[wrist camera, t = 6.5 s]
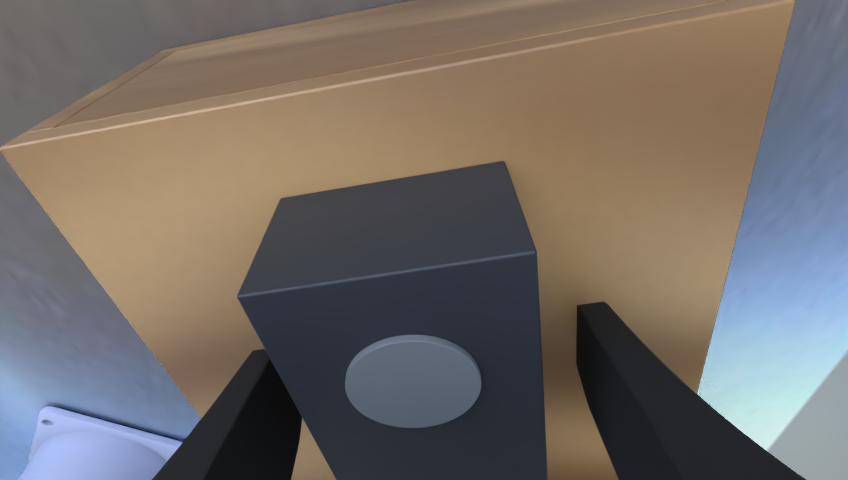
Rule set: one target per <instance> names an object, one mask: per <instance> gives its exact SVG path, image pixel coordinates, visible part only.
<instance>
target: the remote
mask: <svg viewBox="0 0 848 480" xmlns="http://www.w3.org/2000/svg"><path fill="white" fill-rule="evenodd" d="M237 299H238V301H239V302H240V304H241V306H242V308H243V310H244V312H245V313H246V315H247V317H248V319H249V321H250V323H251V324H252V326H253V328H254V330H255V332H256V334H257V335H258V337H259V339H260V341H261V343H262V345H263V346H264V348H265V350H266V352H267V354H268V356H269V357H270V359H271V361H272V363H273V365H274V367H275V368H276V370H277V372H278V374H279V376H280V378H281V379H282V381H283V383H284V385H285V387H286V389H287V390H288V392H289V394H290V396H291V398H292V400H293V401H294V403H295V405H296V407H297V409H298V411H299V412H300V414H301V416H302V418H303V420H304V422H305V423H306V425H307V427H308V429H309V431H310V433H311V434H312V436H313V438H314V440H315V442H316V444H317V445H318V447H319V449H320V451H321V453H322V455H323V456H324V458H325V460H326V462H327V464H328V466H329V467H330V469H331V471H332V473H333V475H334V477H335V478H336V480H548V468H547V447H546V426H545V405H544V385H543V364H542V343H541V322H540V301H539V280H538V259H537V250H536V247H535V245H534V242H533V239H532V236H531V233H530V231H529V228H528V225H527V222H526V219H525V216H524V214H523V211H522V208H521V205H520V202H519V200H518V197H517V194H516V191H515V188H514V186H513V183H512V180H511V177H510V174H509V172H508V169H507V166H506V163H505V162H504V161H500V162H494V163H488V164H482V165H476V166H470V167H464V168H458V169H452V170H446V171H440V172H435V173H429V174H423V175H417V176H411V177H405V178H399V179H393V180H387V181H381V182H375V183H369V184H363V185H357V186H351V187H345V188H339V189H333V190H327V191H321V192H315V193H309V194H303V195H297V196H291V197H285V198H281V199H280V200H279V203H278V205H277V207H276V209H275V212H274V214H273V216H272V218H271V220H270V223H269V225H268V227H267V229H266V232H265V234H264V236H263V238H262V241H261V243H260V245H259V247H258V250H257V252H256V254H255V256H254V259H253V261H252V263H251V265H250V267H249V270H248V272H247V274H246V276H245V279H244V281H243V283H242V285H241V288H240V290H239V292H238V294H237Z"/></svg>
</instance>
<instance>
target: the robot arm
mask: <svg viewBox="0 0 848 480" xmlns="http://www.w3.org/2000/svg"><path fill="white" fill-rule="evenodd" d="M576 365H577V369H578V372H579V376H580V379H581V383H582V386H583V390H584V393H585V397H586V400H587V403H588V406H589V409H590V411H591V414H592V416H593V419H594V421H595V424H596V426H597V428H598V431H599V433H600V436H601V438H602V441H603V443H604V446H605V448H606V450H607V453H608V455H609V458H610V460H611V462H612V465H613V467H614V470H615V472H616V475H617V477H618V479H619V480H806V479H804V478H803V477H802V476H800V475H798V474H797V473H796V472H794V471H793V470H791V469H790V468H789V467H787V466H786V465H785V464H783V463H782V462H781V461H779V460H778V459H777V458H775V457H774V456H773V455H771V454H770V453H768V452H767V451H766V450H764V449H763V448H762V447H760V446H759V445H758V444H757V443H755V442H754V441H753V440H751V439H750V438H749V437H748V436H746V435H745V434H744V433H742V432H741V431H740V430H739V429H737V428H736V427H735V426H734V425H732V424H731V423H730V422H729V421H728V420H726V419H725V418H724V417H723V416H722V415H720V414H719V413H718V412H717V411H716V410H714V409H713V408H712V407H711V406H710V405H709V404H708V403H706V402H705V401H704V400H703V399H702V398H701V397H700V396H698V395H697V394H696V393H695V392H694V391H693V390H692V389H691V388H689V387H688V386H687V385H686V384H685V383H684V382H683V381H682V380H681V379H680V378H679V377H678V376H677V375H676V374H674V373H673V372H672V371H671V370H670V369H669V368H668V367H667V366H666V365H665V364H664V363H663V362H662V361H661V360H660V359H659V358H658V357H657V356H656V355H655V354H654V353H653V352H652V351H651V350H650V349H649V348H648V347H647V346H646V345H645V344H644V343H643V342H642V341H641V340H640V339H639V338H638V337H637V336H636V335H635V334H634V332H633V331H632V330H631V329H630V328H629V327H628V326H627V325H626V324H625V323H624V322H623V320H622V319H621V318H620V317H619V316H618V315H617V314H616V313H615V311H614V310H613V309H612V308H611V307H610V306H609V305H608V304H607V303H606V302H604V301H603V302H596V303H588V304H581V305H577V332H576ZM301 424H302V416H301V414H300V412H299V411H298V409H297V407H296V405H295V403H294V401H293V400H292V398H291V396H290V394H289V392H288V390H287V389H286V387H285V385H284V383H283V381H282V379H281V378H280V376H279V374H278V372H277V370H276V368H275V367H274V365H273V363H272V361H271V359H270V357H269V356H268V354H267V352H266V350H265V349H260V350H253V351H252V352H251V354H250V355H249V356H248V358H247V359H246V360H245V361H244V363H243V364H242V366H241V367H240V368H239V370H238V371H237V372H236V374H235V375H234V376H233V378H232V379H231V380H230V382H229V383H228V384H227V386H226V387H225V388H224V390H223V391H222V392H221V394H220V395H219V396H218V398H217V399H216V400H215V402H214V403H213V404H212V406H211V407H210V408H209V410H208V411H207V412H206V414H205V415H204V416H203V417H202V419H201V420H200V421H199V423H198V424H197V425H196V427H195V428H194V429H193V431H192V432H191V433H190V434H189V436H188V437H187V438H186V439H185V440H184V442H181V441H178V440H174V439H170V438H167V437H163V436H159V435H156V434H152V433H148V432H145V431H141V430H137V429H134V428H130V427H126V426H123V425H119V424H116V423H112V422H108V421H105V420H101V419H97V418H94V417H90V416H86V415H83V414H79V413H75V412H72V411H68V410H64V409H61V408H57V407H53V406H47V407H44V408H43V409H42V410H41V412H40V413H39V415H38V419H37V424H36V428H35V433H34V437H33V441H32V446H31V450H30V455H29V459H28V463H27V466H26V468H25V469H24V471H23V472H22V474H21V475H20V477H19V478H18V479H17V480H291V478H292V473H293V469H294V464H295V460H296V455H297V451H298V446H299V441H300V433H301Z"/></svg>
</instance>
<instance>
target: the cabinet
mask: <svg viewBox="0 0 848 480" xmlns="http://www.w3.org/2000/svg"><path fill="white" fill-rule="evenodd" d="M794 6H795V0H410V1H405V2H400V3H395V4H390V5H385V6H380V7H375V8H370V9H365V10H360V11H355V12H350V13H345V14H340V15H335V16H330V17H325V18H320V19H315V20H310V21H305V22H300V23H295V24H290V25H285V26H280V27H275V28H270V29H265V30H260V31H255V32H250V33H245V34H239V35H234V36H229V37H224V38H219V39H214V40H209V41H204V42H199V43H194V44H189V45H184V46H179V47H174V48H169V49H164V50H163V51H161V52H159V53H158V54H156V55H154V56H152V57H150V58H149V59H147V60H145V61H144V62H142V63H140V64H139V65H137V66H135V67H134V68H132V69H130V70H129V71H127V72H125V73H123V74H122V75H120V76H118V77H117V78H115V79H113V80H112V81H110V82H108V83H107V84H105V85H103V86H102V87H100V88H98V89H96V90H95V91H93V92H91V93H90V94H88V95H86V96H85V97H83V98H81V99H80V100H78V101H76V102H75V103H73V104H71V105H69V106H68V107H66V108H64V109H63V110H61V111H59V112H58V113H56V114H54V115H53V116H51V117H49V118H47V119H46V120H44V121H42V122H41V123H39V124H37V125H36V126H34V127H32V128H31V129H29V130H27V131H26V132H24V133H23V134H21V135H19V136H17V137H16V138H14V139H12V140H11V141H9V142H7V143H6V144H4V145H2V146H1V147H0V152H1V153H2V155H3V156H4V157H5V159H6V160H7V161H8V163H9V164H10V165H11V167H12V168H13V169H14V171H15V172H16V173H17V175H18V176H19V177H20V178H21V180H22V181H23V182H24V184H25V185H26V186H27V188H28V189H29V190H30V192H31V193H32V194H33V196H34V197H35V198H36V200H37V201H38V202H39V204H40V205H41V206H42V208H43V209H44V210H45V212H46V213H47V214H48V216H49V217H50V218H51V220H52V221H53V222H54V224H55V225H56V226H57V228H58V229H59V230H60V232H61V233H62V234H63V236H64V237H65V238H66V239H67V241H68V242H69V243H70V245H71V246H72V247H73V249H74V250H75V251H76V253H77V254H78V255H79V257H80V258H81V259H82V261H83V262H84V263H85V265H86V266H87V267H88V269H89V270H90V271H91V273H92V274H93V275H94V277H95V278H96V279H97V281H98V282H99V283H100V285H101V286H102V287H103V289H104V290H105V291H106V293H107V294H108V295H109V297H110V298H111V299H112V300H113V302H114V303H115V304H116V306H117V307H118V308H119V310H120V311H121V312H122V314H123V315H124V316H125V318H126V319H127V320H128V322H129V323H130V324H131V326H132V327H133V328H134V330H135V331H136V332H137V334H138V335H139V336H140V338H141V339H142V340H143V342H144V343H145V344H146V346H147V347H148V348H149V350H150V351H151V352H152V354H153V355H154V356H155V358H156V359H157V360H158V361H159V363H160V364H161V365H162V367H163V368H164V369H165V371H166V372H167V373H168V375H169V376H170V377H171V379H172V380H173V381H174V383H175V384H176V385H177V387H178V388H179V389H180V391H181V392H182V393H183V395H184V396H185V397H186V399H187V400H188V401H189V403H190V404H191V405H192V407H193V408H194V409H195V411H196V412H197V413H198V415H199V416H200V417H201V419H202V417H203V416H204V415H205V414H206V412H207V411H208V410H209V408H210V407H211V406H212V404H213V403H214V402H215V400H216V399H217V398H218V396H219V395H220V394H221V392H222V391H223V390H224V388H225V387H226V386H227V384H228V383H229V382H230V380H231V379H232V378H233V376H234V375H235V374H236V372H237V371H238V370H239V368H240V367H241V366H242V364H243V363H244V361H245V360H246V359H247V358H248V356H249V355H250V354H251V352H252V351H253V350H260V349H265V348H264V346H263V345H262V343H261V341H260V339H259V337H258V335H257V334H256V332H255V330H254V328H253V326H252V324H251V323H250V321H249V319H248V317H247V315H246V313H245V312H244V310H243V308H242V306H241V304H240V302H239V301H238V299H237V294H238V292H239V290H240V288H241V285H242V283H243V281H244V279H245V276H246V274H247V272H248V270H249V267H250V265H251V263H252V261H253V259H254V256H255V254H256V252H257V250H258V247H259V245H260V243H261V241H262V238H263V236H264V234H265V232H266V229H267V227H268V225H269V223H270V220H271V218H272V216H273V214H274V212H275V209H276V207H277V205H278V203H279V200H280V199H281V198H285V197H291V196H297V195H303V194H309V193H315V192H321V191H327V190H333V189H339V188H345V187H351V186H357V185H363V184H369V183H375V182H381V181H387V180H393V179H399V178H405V177H411V176H417V175H423V174H429V173H435V172H440V171H446V170H452V169H458V168H464V167H470V166H476V165H482V164H488V163H494V162H500V161H504V162H505V163H506V166H507V169H508V172H509V174H510V177H511V180H512V183H513V186H514V188H515V191H516V194H517V197H518V200H519V202H520V205H521V208H522V211H523V214H524V216H525V219H526V222H527V225H528V228H529V231H530V233H531V236H532V239H533V242H534V245H535V247H536V250H537V259H538V280H539V301H540V322H541V343H542V364H543V385H544V405H545V426H546V447H547V468H548V480H619V479H618V477H617V475H616V472H615V470H614V467H613V465H612V462H611V460H610V458H609V455H608V453H607V450H606V448H605V446H604V443H603V441H602V438H601V436H600V433H599V431H598V428H597V426H596V424H595V421H594V419H593V416H592V414H591V411H590V409H589V406H588V403H587V400H586V397H585V393H584V390H583V386H582V383H581V379H580V376H579V372H578V369H577V365H576V332H577V305H581V304H588V303H596V302H603V301H604V302H606V303H607V304H608V305H609V306H610V307H611V308H612V309H613V310H614V311H615V313H616V314H617V315H618V316H619V317H620V318H621V319H622V320H623V322H624V323H625V324H626V325H627V326H628V327H629V328H630V329H631V330H632V331H633V332H634V334H635V335H636V336H637V337H638V338H639V339H640V340H641V341H642V342H643V343H644V344H645V345H646V346H647V347H648V348H649V349H650V350H651V351H652V352H653V353H654V354H655V355H656V356H657V357H658V358H659V359H660V360H661V361H662V362H663V363H664V364H665V365H666V366H667V367H668V368H669V369H670V370H671V371H672V372H673V373H674V374H676V375H677V376H678V377H679V378H680V379H681V380H682V381H683V382H684V383H685V384H686V385H687V386H688V387H689V388H691V389H692V390H693V391H694V392H695V393H696V394H697V392H698V388H699V384H700V380H701V376H702V372H703V368H704V364H705V360H706V356H707V352H708V348H709V344H710V340H711V336H712V332H713V328H714V324H715V320H716V316H717V312H718V309H719V305H720V301H721V297H722V293H723V289H724V285H725V281H726V277H727V273H728V269H729V265H730V261H731V257H732V253H733V249H734V245H735V241H736V237H737V233H738V229H739V225H740V221H741V217H742V213H743V209H744V205H745V201H746V197H747V193H748V189H749V185H750V181H751V177H752V173H753V169H754V165H755V161H756V157H757V153H758V149H759V146H760V142H761V138H762V134H763V130H764V126H765V122H766V118H767V114H768V110H769V106H770V102H771V98H772V94H773V90H774V86H775V82H776V78H777V74H778V70H779V66H780V62H781V58H782V54H783V50H784V46H785V42H786V38H787V34H788V30H789V26H790V22H791V18H792V14H793V10H794ZM291 480H336V478H335V477H334V475H333V473H332V471H331V469H330V467H329V466H328V464H327V462H326V460H325V458H324V456H323V455H322V453H321V451H320V449H319V447H318V445H317V444H316V442H315V440H314V438H313V436H312V434H311V433H310V431H309V429H308V427H307V425H306V423H305V422H304V420H303V418H302V424H301V433H300V441H299V446H298V451H297V455H296V460H295V464H294V469H293V473H292V478H291Z"/></svg>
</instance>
